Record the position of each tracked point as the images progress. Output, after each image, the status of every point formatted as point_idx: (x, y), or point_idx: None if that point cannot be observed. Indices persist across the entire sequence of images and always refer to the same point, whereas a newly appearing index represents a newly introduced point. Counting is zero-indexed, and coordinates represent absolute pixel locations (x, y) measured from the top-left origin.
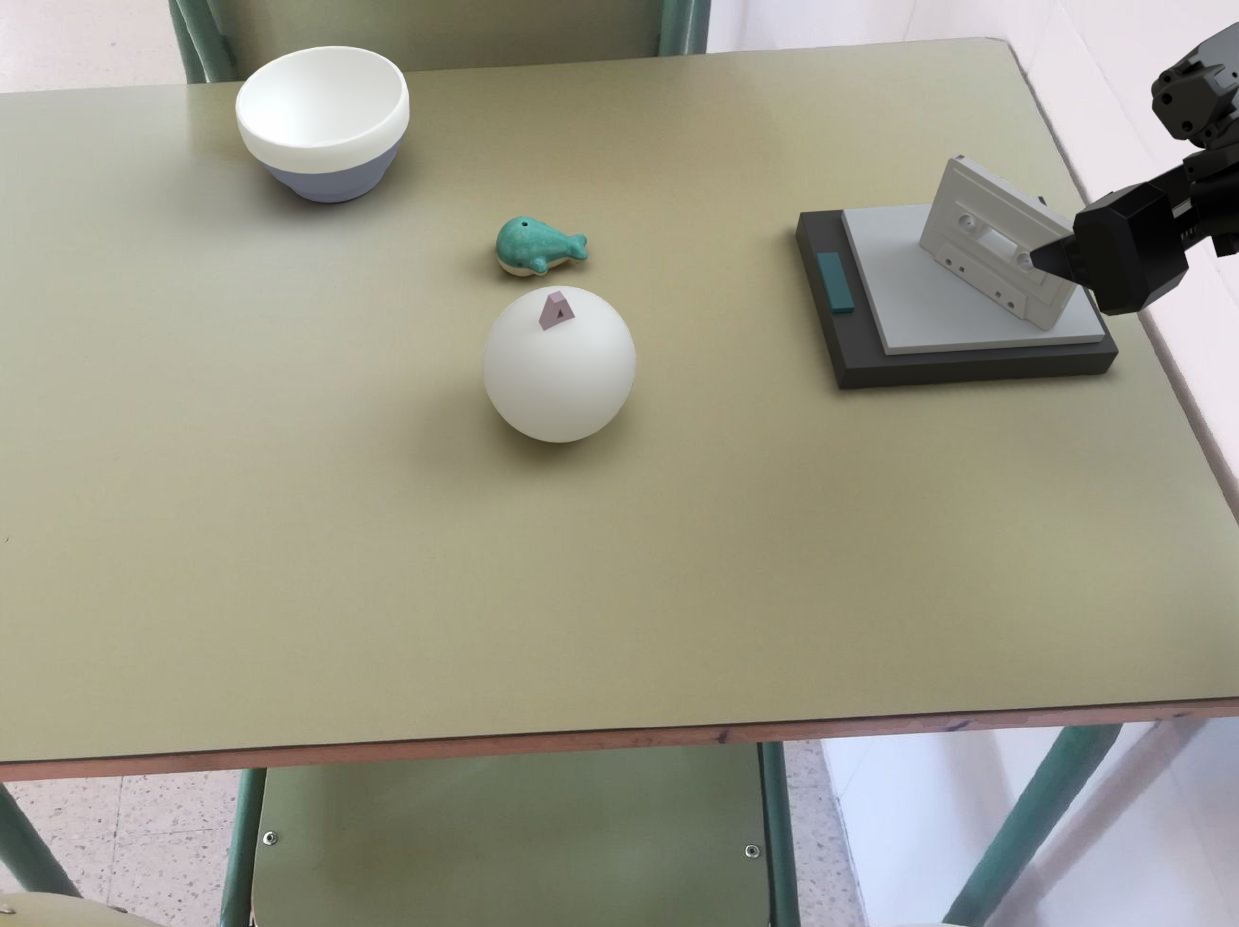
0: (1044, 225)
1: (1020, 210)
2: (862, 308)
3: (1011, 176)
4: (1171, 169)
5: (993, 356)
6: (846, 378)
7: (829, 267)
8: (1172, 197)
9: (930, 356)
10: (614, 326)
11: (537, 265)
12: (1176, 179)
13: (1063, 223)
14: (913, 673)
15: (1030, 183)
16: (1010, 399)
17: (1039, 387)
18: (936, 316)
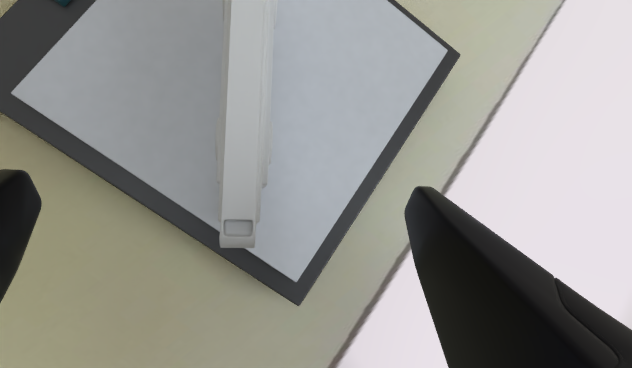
0: (225, 115)
1: (227, 44)
2: (82, 12)
3: (479, 9)
4: (512, 268)
5: (152, 204)
6: None
7: None
8: (453, 307)
9: (77, 144)
10: None
11: None
12: (492, 303)
13: (235, 147)
14: None
15: (485, 32)
16: (162, 252)
17: (209, 261)
18: (134, 100)
